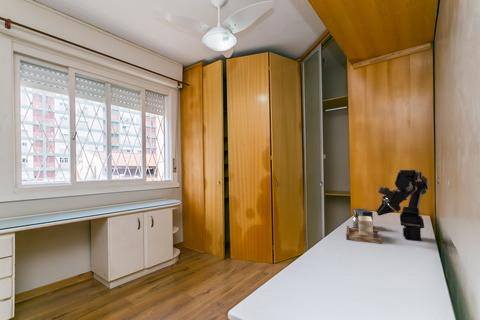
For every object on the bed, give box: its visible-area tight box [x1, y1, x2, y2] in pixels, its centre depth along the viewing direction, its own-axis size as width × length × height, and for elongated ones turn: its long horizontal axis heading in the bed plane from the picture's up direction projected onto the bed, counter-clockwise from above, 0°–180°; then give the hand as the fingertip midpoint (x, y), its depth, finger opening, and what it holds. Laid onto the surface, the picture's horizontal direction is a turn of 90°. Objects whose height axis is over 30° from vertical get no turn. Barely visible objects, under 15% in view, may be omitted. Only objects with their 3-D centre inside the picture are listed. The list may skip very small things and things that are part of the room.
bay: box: [345, 225, 382, 244], centre depth 120 cm, size 15×16×3 cm
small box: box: [353, 208, 374, 222], centre depth 137 cm, size 11×6×10 cm, turn 1°
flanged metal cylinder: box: [351, 212, 359, 229], centre depth 134 cm, size 5×8×9 cm
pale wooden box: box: [358, 216, 374, 238], centre depth 119 cm, size 6×11×9 cm, turn 154°
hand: (377, 213), depth 117 cm, fingers open, 6 cm apart
